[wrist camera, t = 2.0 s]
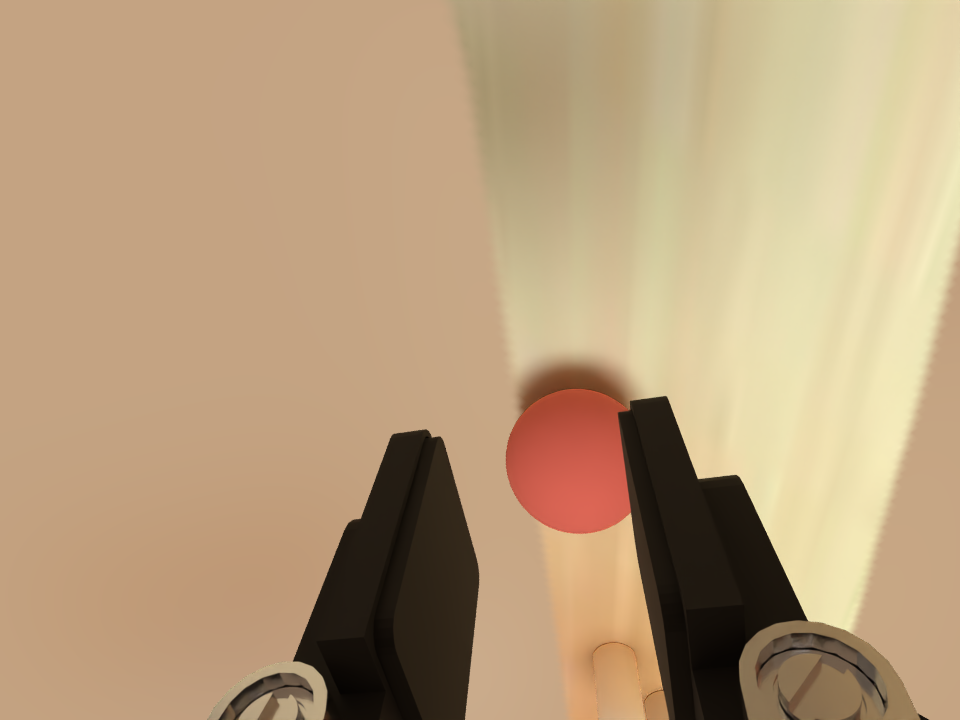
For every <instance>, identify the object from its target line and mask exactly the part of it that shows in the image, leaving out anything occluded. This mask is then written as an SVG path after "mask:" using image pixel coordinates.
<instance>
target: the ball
mask: <svg viewBox="0 0 960 720" xmlns="http://www.w3.org/2000/svg"><path fill="white" fill-rule="evenodd" d="M622 411H629V410H627V409H626V408H625V407H624V406H623V405H622V404H620V403H619V402H618V401H616V400H615V399H613V398H611V397H609V396H607V395H604V394H602V393H599V392H596V391H592V390H586V389H566V390H561V391H557V392H554V393H551V394H549V395H547V396H544V397H542V398H541V399H539V400H538V401H536V402H534V403H533V404H532V405H531V406H529V407H528V408H527V409H526V410H525V412H524V413H523V414H522V415H521V416H520V418H519V419H518V420H517V422H516V424H515V426H514V427H513V429H512V432H511V434H510V437H509V440H508V445H507V451H506V469H507V475H508V479H509V482H510V485H511V488H512V490H513V492H514V494H515V496H516V498H517V499H518V501H519V502H520V504H521V505H522V506H523V507H524V508H525V509H526V511H527V512H528V513H529V514H530V515H532V516H533V517H534V518H535V519H537V520H538V521H540V522H541V523H543V524H544V525H546V526H548V527H550V528H553V529H556V530H558V531H562V532H567V533H577V534H584V533H592V532H597V531H601V530H604V529H607V528H609V527H611V526H613V525H615V524H617V523H618V522H620V521H621V520H623V519H624V518H625V517H626V516H627V515H628V514H629V513H631V508H630V501H629V493H628V486H627V479H626V472H625V464H624V457H623V450H622V442H621V435H620V428H619V420H618V412H622Z"/></svg>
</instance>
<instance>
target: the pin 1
mask: <svg viewBox="0 0 960 720" xmlns="http://www.w3.org/2000/svg"><path fill="white" fill-rule="evenodd" d="M593 666H594V676H595V687H596V698H597V708H598V719H599V720H646V718H645V712H644V706H643V700H642V694H641V688H640V681H639V675H638V669H637V663H636V657H635V653H634V651H633V650H632V649H631V648H630V647H628V646H626V645H624V644H620V643H608V644H604V645H602V646H600V647H598V648H597V649H596V650H595V651H594V653H593Z"/></svg>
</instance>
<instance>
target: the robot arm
mask: <svg viewBox="0 0 960 720" xmlns="http://www.w3.org/2000/svg"><path fill="white" fill-rule="evenodd" d="M630 409H631V410H630V411H622V412H618V420H619V428H620V435H621V442H622V450H623V457H624V464H625V472H626V479H627V486H628V493H629V501H630V508H631V515H632V523H633V530H634V537H635V544H636V551H637V557H638V563H639V568H640V574H641V579H642V584H643V589H644V594H645V599H646V604H647V609H648V614H649V619H650V624H651V629H652V635H653V640H654V645H655V650H656V655H657V660H658V665H659V670H660V675H661V680H662V685H663V690H664V696H665V701H666V706H667V711H668V716H669V720H928V719H927V718H925V717H923V716H921V715H919V714H918V713H917V711H916V709H915V707H914V705H913V703H912V701H911V699H910V697H909V695H908V693H907V690H906V688H905V687H904V684H903V682H902V680H901V679H900V677H899V676H898V674H897V673H896V671H895V670H894V669H893V667H892V666H891V664H890V663H889V661H888V660H887V659H886V658H885V657H884V656H882V655H881V654H880V653H879V652H878V651H877V650H876V649H875V648H873V647H872V646H871V645H870V644H869V643H867V642H865V641H864V640H862V639H860V638H858V637H857V636H855V635H853V634H851V633H849V632H848V631H846V630H843V629H840V628H837V627H833V626H830V625H827V624H824V623H819V622H809V621H808V620H807V618H806V616H805V614H804V612H803V610H802V607H801V605H800V603H799V601H798V599H797V597H796V595H795V593H794V590H793V588H792V586H791V584H790V582H789V580H788V578H787V576H786V573H785V571H784V569H783V567H782V565H781V563H780V561H779V559H778V556H777V554H776V552H775V550H774V548H773V546H772V544H771V542H770V539H769V537H768V535H767V533H766V531H765V529H764V527H763V524H762V522H761V520H760V518H759V516H758V514H757V512H756V510H755V507H754V505H753V503H752V501H751V499H750V497H749V495H748V493H747V490H746V488H745V486H744V484H743V482H742V481H741V479H740V477H738V476H737V475H730V476H722V477H713V478H705V479H698V478H697V476H696V473H695V470H694V468H693V465H692V462H691V460H690V457H689V454H688V451H687V449H686V446H685V443H684V441H683V438H682V435H681V433H680V430H679V427H678V424H677V422H676V419H675V416H674V414H673V411H672V408H671V406H670V403H669V400H668V398H667V396H662V397H655V398H648V399H641V400H634V401H630ZM478 588H479V569H478V563H477V559H476V555H475V552H474V548H473V545H472V541H471V537H470V533H469V530H468V526H467V523H466V520H465V516H464V512H463V509H462V505H461V502H460V498H459V495H458V491H457V487H456V484H455V480H454V477H453V473H452V470H451V466H450V463H449V459H448V455H447V452H446V448H445V445H444V442H443V440H442V438H441V437H433V438H432V437H431V434H430V433H429V431H428V430H418V431H411V432H404V433H397V434H393V435H392V436H391V438H390V441H389V444H388V446H387V449H386V452H385V455H384V457H383V460H382V463H381V465H380V468H379V471H378V474H377V476H376V479H375V482H374V485H373V487H372V490H371V493H370V495H369V498H368V501H367V503H366V506H365V509H364V512H363V514H362V517H361V519H356V520H352V521H351V522H349V523H348V525H347V527H346V528H345V530H344V533H343V536H342V538H341V540H340V543H339V546H338V548H337V550H336V553H335V556H334V558H333V561H332V563H331V566H330V568H329V571H328V573H327V576H326V578H325V581H324V583H323V586H322V589H321V591H320V594H319V596H318V599H317V601H316V604H315V607H314V609H313V612H312V614H311V617H310V619H309V622H308V624H307V627H306V629H305V632H304V634H303V637H302V639H301V642H300V645H299V647H298V650H297V652H296V655H295V657H294V660H293V662H280V663H277V664H273V665H269V666H266V667H263V668H261V669H260V670H258V671H256V672H254V673H252V674H250V675H248V676H246V677H245V678H244V679H242V680H241V681H240V682H239V683H237V684H236V685H235V686H234V687H232V688H231V689H230V690H229V691H228V692H227V693H226V694H225V695H224V697H223V698H222V699H221V700H220V701H219V702H218V704H217V705H216V706H215V707H214V709H213V710H212V712H211V714H210V716H209V718H208V719H207V720H465V713H466V703H467V694H468V684H469V675H470V665H471V656H472V645H473V637H474V627H475V618H476V608H477V598H478Z"/></svg>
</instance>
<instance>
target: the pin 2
mask: <svg viewBox="0 0 960 720" xmlns="http://www.w3.org/2000/svg"><path fill="white" fill-rule="evenodd" d="M644 704H645V711H646V717H647V720H669V716H668V711H667V706H666V701H665V696H664V690H663V691H657V692H654V693H652V694H650V695H649V696H648V697H647V698H646V700H645V703H644Z"/></svg>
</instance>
